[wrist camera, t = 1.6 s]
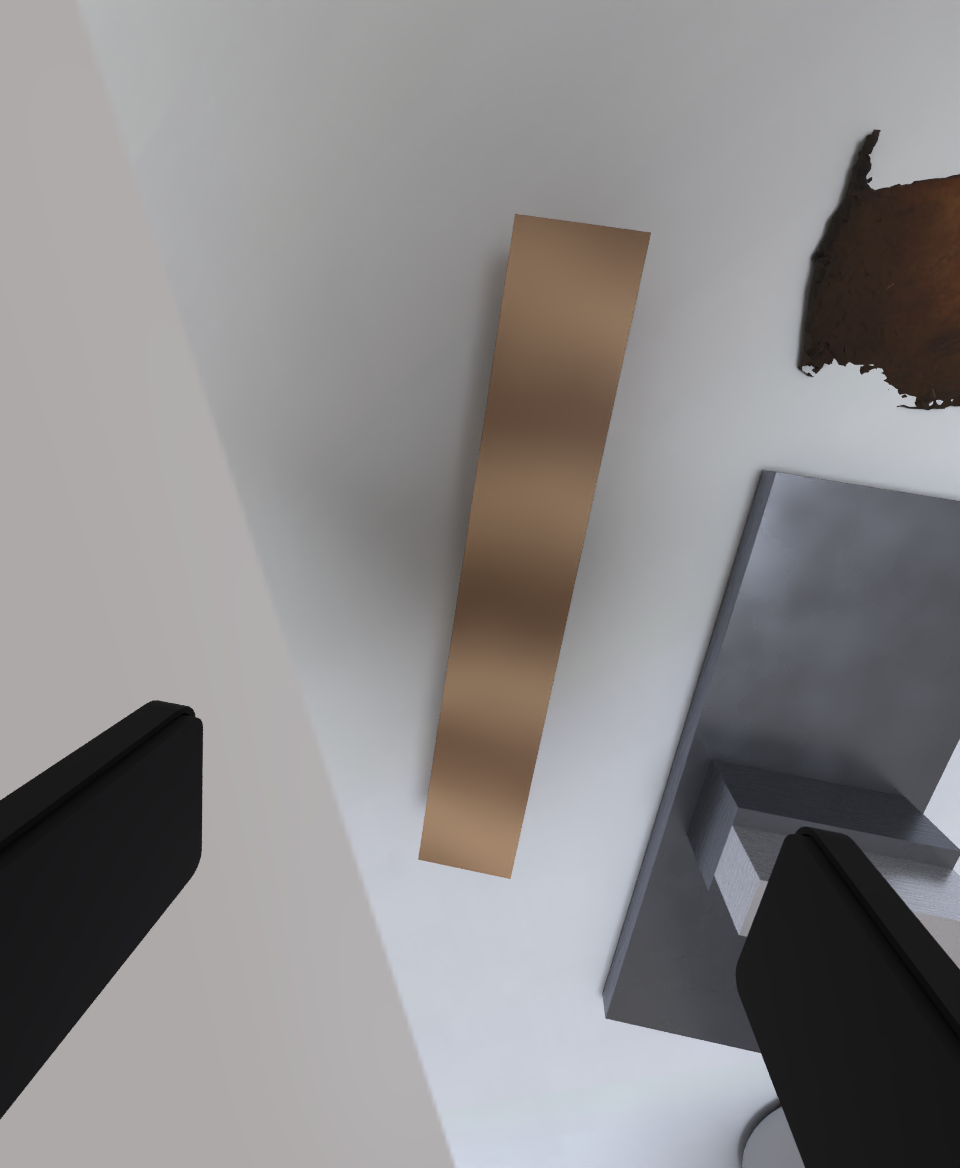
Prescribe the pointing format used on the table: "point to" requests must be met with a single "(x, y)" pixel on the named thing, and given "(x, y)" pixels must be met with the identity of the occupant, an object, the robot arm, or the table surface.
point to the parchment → (891, 286)
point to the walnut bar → (527, 526)
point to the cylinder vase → (772, 1144)
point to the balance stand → (802, 740)
